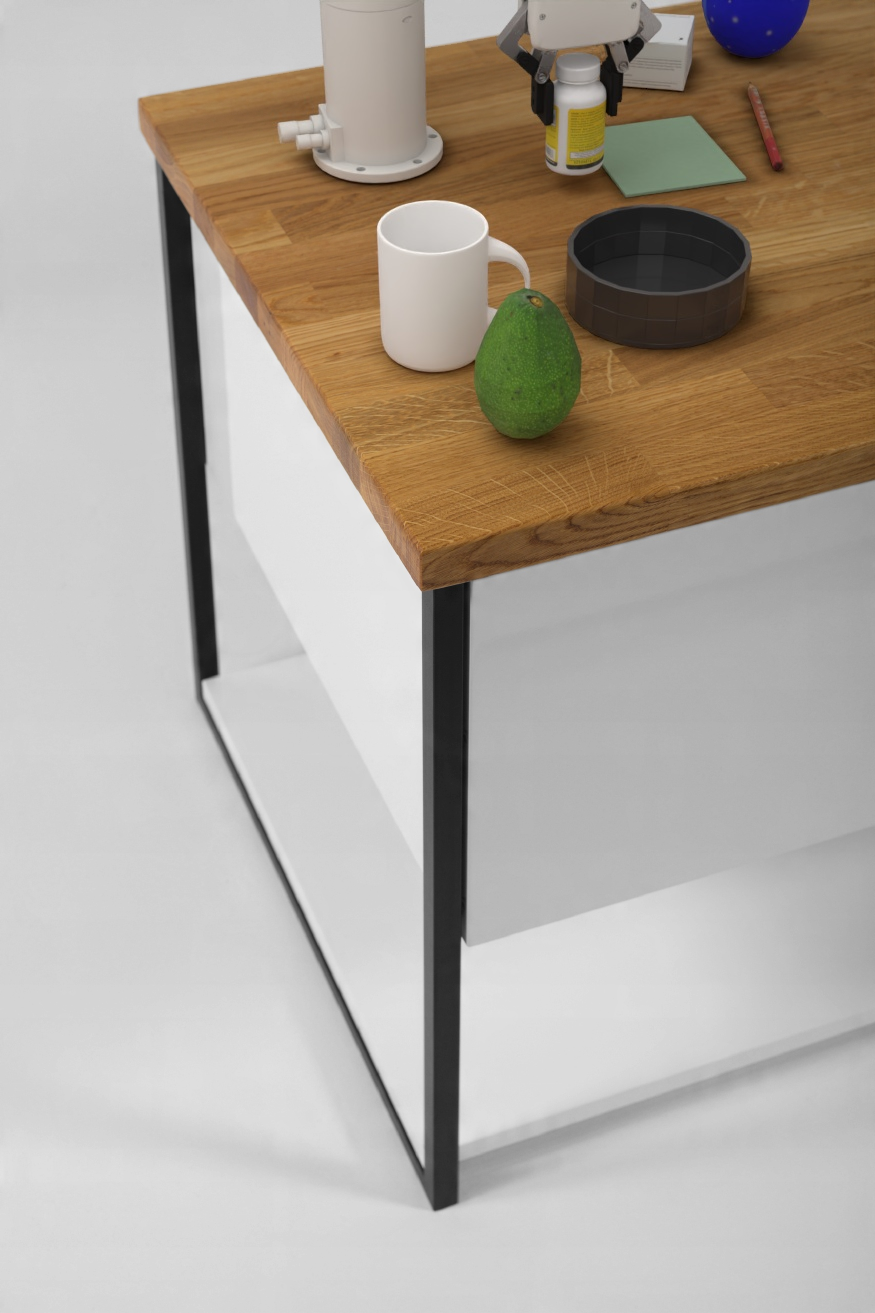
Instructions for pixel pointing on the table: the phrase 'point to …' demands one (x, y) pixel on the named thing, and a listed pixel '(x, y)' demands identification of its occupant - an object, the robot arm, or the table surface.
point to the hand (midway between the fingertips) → (576, 113)
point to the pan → (657, 276)
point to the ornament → (754, 24)
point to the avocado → (527, 367)
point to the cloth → (665, 157)
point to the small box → (664, 55)
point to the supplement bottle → (577, 116)
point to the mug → (437, 283)
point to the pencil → (764, 127)
